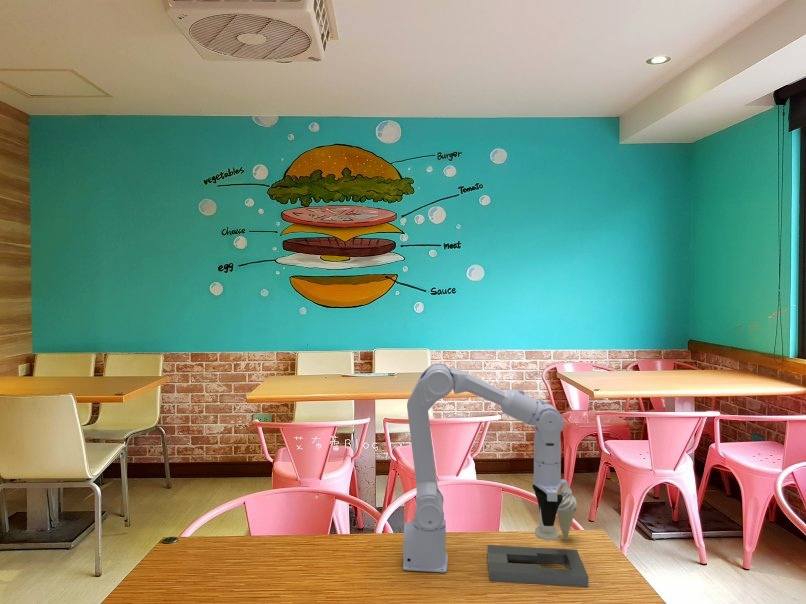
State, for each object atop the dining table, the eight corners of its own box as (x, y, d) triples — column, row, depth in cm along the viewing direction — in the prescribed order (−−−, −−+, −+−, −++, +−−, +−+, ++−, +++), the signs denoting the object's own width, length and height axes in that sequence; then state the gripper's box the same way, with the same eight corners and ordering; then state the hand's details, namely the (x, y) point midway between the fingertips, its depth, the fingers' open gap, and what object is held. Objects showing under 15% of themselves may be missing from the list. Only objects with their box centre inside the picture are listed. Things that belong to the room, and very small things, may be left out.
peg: (536, 539, 120) (536, 502, 120) (534, 529, 125) (534, 494, 125) (560, 541, 119) (560, 503, 119) (557, 530, 124) (557, 495, 124)
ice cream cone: (577, 546, 132) (577, 483, 132) (555, 544, 133) (555, 482, 133) (575, 537, 137) (575, 476, 136) (553, 535, 138) (554, 475, 137)
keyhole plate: (489, 581, 116) (489, 571, 116) (487, 554, 128) (487, 544, 128) (588, 587, 114) (588, 576, 114) (576, 558, 126) (576, 549, 126)
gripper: (572, 471, 114) (572, 537, 114) (560, 451, 128) (560, 509, 129) (537, 470, 115) (537, 535, 115) (529, 450, 129) (528, 508, 129)
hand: (547, 521), depth 122 cm, fingers closed on peg, 3 cm apart
